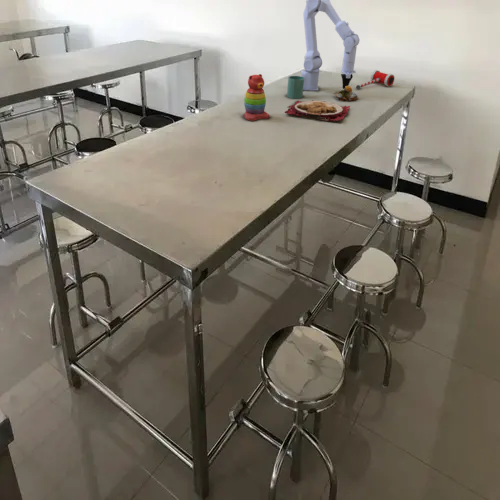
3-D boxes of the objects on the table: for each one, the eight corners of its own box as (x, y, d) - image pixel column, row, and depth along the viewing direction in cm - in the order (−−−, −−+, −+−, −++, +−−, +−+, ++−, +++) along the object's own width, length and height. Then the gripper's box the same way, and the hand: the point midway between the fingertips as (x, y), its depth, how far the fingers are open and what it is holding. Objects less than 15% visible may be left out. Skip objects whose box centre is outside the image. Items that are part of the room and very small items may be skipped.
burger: (340, 93, 250) (342, 78, 246) (361, 98, 243) (363, 82, 239) (328, 97, 242) (329, 82, 238) (348, 103, 236) (350, 87, 232)
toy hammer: (365, 92, 253) (367, 79, 249) (348, 86, 261) (350, 74, 257) (393, 85, 265) (395, 73, 261) (376, 81, 273) (378, 69, 269)
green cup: (286, 98, 239) (288, 79, 234) (287, 93, 246) (288, 75, 241) (302, 99, 239) (304, 80, 234) (302, 94, 245) (304, 76, 240)
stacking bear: (249, 121, 208) (250, 79, 199) (238, 114, 216) (239, 73, 206) (271, 118, 213) (273, 76, 203) (260, 111, 220) (261, 71, 210)
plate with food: (341, 124, 210) (342, 116, 208) (284, 114, 216) (284, 107, 214) (349, 109, 229) (351, 102, 227) (297, 101, 235) (298, 94, 233)
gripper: (358, 65, 231) (354, 93, 239) (355, 58, 243) (351, 86, 251) (343, 64, 232) (339, 93, 239) (341, 57, 244) (338, 85, 251)
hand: (344, 89), depth 245 cm, fingers closed
